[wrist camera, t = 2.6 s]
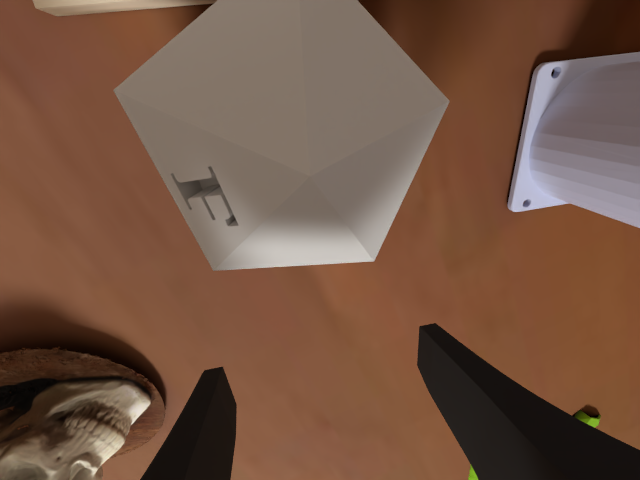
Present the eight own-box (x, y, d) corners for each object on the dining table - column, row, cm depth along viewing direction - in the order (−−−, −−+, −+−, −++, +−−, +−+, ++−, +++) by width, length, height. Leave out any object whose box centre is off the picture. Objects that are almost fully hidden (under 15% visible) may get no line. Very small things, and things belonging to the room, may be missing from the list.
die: (148, 57, 13) (-132, -33, 4) (349, -8, 13) (541, -243, 4) (231, 230, 16) (192, 388, 8) (384, 179, 17) (520, 275, 8)
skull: (102, 317, 16) (121, 550, 13) (175, 326, 26) (196, 459, 23) (-173, 392, 14) (-222, 685, 11) (20, 370, 24) (20, 523, 21)
